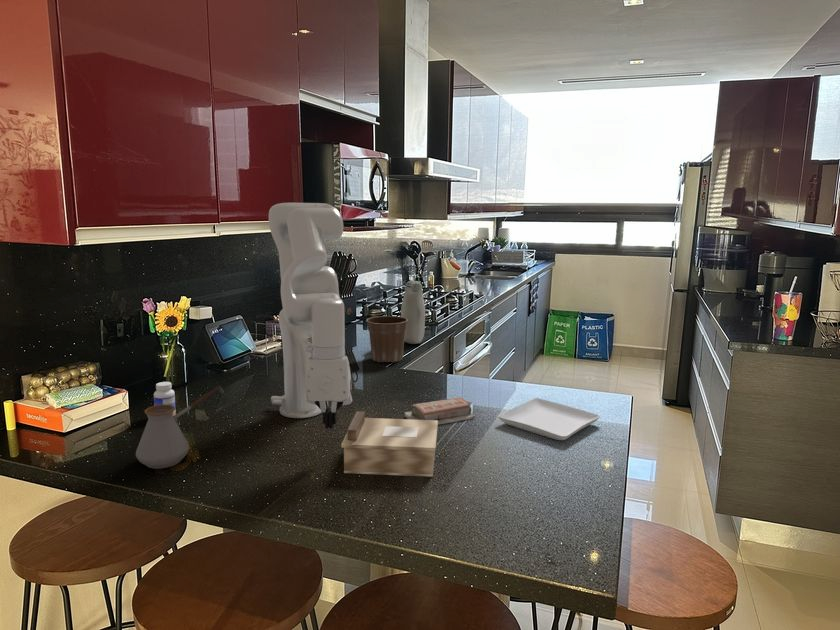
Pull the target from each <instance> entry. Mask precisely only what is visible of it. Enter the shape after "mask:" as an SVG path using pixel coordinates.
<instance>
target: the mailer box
mask: <svg viewBox="0 0 840 630" xmlns="http://www.w3.org/2000/svg"><path fill="white" fill-rule="evenodd" d="M435 454H436V450H435V451H415V450H389V449H363V448H343V473H344V474H359V475H360V474H361V475H383V476H384V475H386V476H407V477H409V476H411V477H433V476H434V475H433V474H434V465H435V464H434V463H435Z"/></svg>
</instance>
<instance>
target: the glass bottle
mask: <svg viewBox="0 0 840 630" xmlns="http://www.w3.org/2000/svg"><path fill="white" fill-rule="evenodd" d="M400 308H401V309H400V317H403V318H407V319H408V321H407V323H406V330H405V336H404V343H405V342H406V343H407V344H410V345H416V344H417V345H418V344H420V343H421V342H422V341H423V339H424V337H425V329H426V328H425V325H426V304H425V301H424V296H423V285H422V283H421V282H420V281H418V280H410V281H407V283H406V284H405V287H404V295H403V299H402V303H401V307H400Z"/></svg>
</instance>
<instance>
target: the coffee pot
mask: <svg viewBox="0 0 840 630" xmlns="http://www.w3.org/2000/svg"><path fill="white" fill-rule="evenodd" d="M220 389H221V390H220ZM218 391H219V392H220V393H221V394H224V393H225V392H224V388H222V387H221V386H220V385H218V386H216V387H214V389H211V390H209V392H207V393H205V394H203V395H201V396H200V397H199V398H197V399H196V400H195V401H194V402H192V403H191V404H189V405H188V406H186V407H185V408H184V409H182V410H181V411H179V412H177V413H176V415H174V416H173V411H174V410H176V406H175V407H174V406H172V405H156V406H154V405H153V406H149V407H147V408H146V409H145V410H144V414H145V415H146V416H147V418H148V419H147V422H146V425H145V427H144V429H143V432H142V435H141V437H140V441H139V443H138V445H137V448H136V451H135V457H136V459H137V460H138V462H139V463H141V464H142V465H145V466H146V467H148V468H150V469H165V468H169V467H173V466H176V465H177V464H179V463H180V462H181V461H182V460H183V459H184V458H185V457H186V456H187V455H188V452H189V450H190V444H189V442H188V440H187V438H186V437H185V434H184V433H183V431H182V430H181V428H180V426H179V424H178V423H177V421H176V420H177V419H178V418H180V417H181V416H183V414H186V413H187V412H188V411H189V410H191V409H193V408H195V407H196V406H198V405H199V404H201V403H203V402H204V401H206V400H207V399H208V398H209V397H210V396H212V395H215V393H216V392H218Z"/></svg>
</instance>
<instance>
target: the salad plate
mask: <svg viewBox="0 0 840 630" xmlns="http://www.w3.org/2000/svg"><path fill="white" fill-rule="evenodd" d="M497 418H498V419H499V420H500V421H501V422H502V423H504V424H506V425H509V426H512V427H514V428H518V429H521V430H523V429H524V431H526V430H527V432H529V431H530V432H529V433H532V432H533V434H536V435H540V436H542V435H543V436H542V437H545V436H546V437H547V438H550V439H552V440H556V441H565V440H567V439H569V438H570V437H571V436H573V435H574V434H576V433H578V432H580V431H581V430H583V429H585V428H587V427H588V426H590V425H592V424H594V423H595V422H598V420H599V419H600V418H601V415H600V414H597V413H594V412H591V411H587V410H584V409H580V408H576V407H573V406H570V405H565V404H562V403H558V402H556V401H550V400H547V399H543V398H539V397H535V398H532V399H531V400H528V401H525V402H523V403H521V404H519V405H518V406H517V405H516V406H515V407H513V408H511V409H508V410H507V411H505V412H504V411H503V412H502V413H499V414H497ZM546 437H545V438H546Z"/></svg>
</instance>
